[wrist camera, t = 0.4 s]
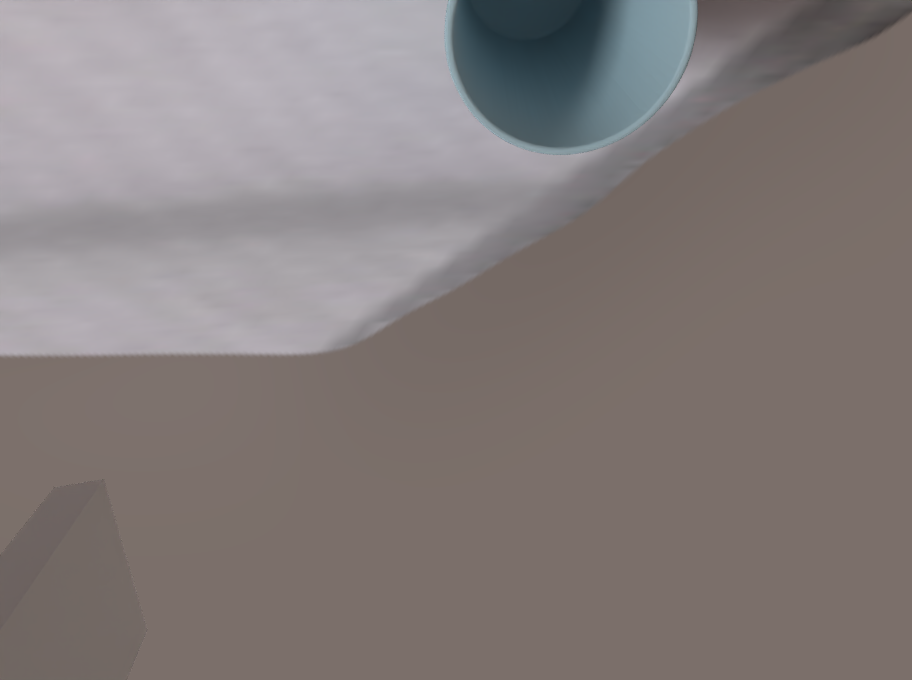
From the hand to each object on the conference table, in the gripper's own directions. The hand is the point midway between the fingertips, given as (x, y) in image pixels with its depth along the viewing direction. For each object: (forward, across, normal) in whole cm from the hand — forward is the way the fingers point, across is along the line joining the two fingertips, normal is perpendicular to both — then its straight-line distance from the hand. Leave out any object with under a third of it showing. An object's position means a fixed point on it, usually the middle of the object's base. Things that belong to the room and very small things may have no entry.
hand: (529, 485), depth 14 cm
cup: (+25, +5, +10) cm, 27 cm away
